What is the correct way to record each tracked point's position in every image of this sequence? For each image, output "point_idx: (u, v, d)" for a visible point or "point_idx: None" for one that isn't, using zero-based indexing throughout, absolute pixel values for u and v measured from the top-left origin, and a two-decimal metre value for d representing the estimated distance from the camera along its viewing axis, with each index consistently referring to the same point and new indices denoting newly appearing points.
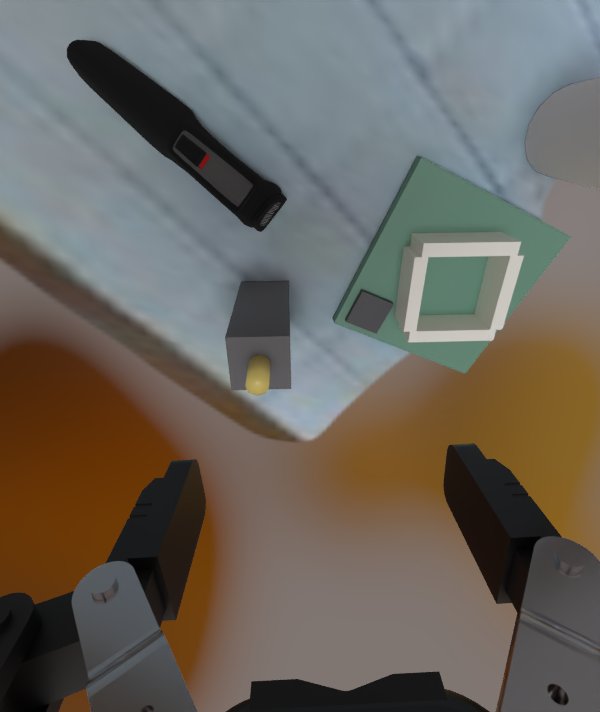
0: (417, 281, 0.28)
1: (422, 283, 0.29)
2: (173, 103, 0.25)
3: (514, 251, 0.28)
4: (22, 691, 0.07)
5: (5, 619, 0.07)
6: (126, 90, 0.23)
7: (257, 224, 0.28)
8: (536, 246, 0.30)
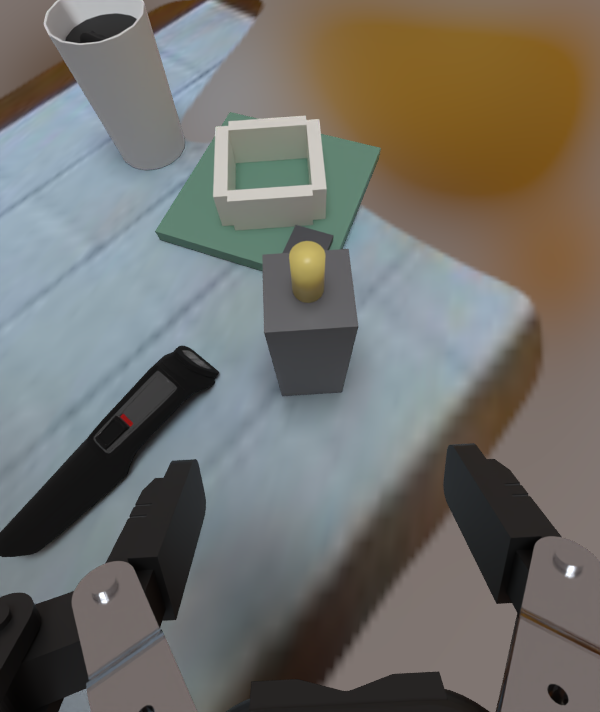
0: (252, 194, 0.27)
1: (255, 189, 0.27)
2: (74, 452, 0.23)
3: (224, 128, 0.29)
4: (22, 691, 0.07)
5: (5, 619, 0.07)
6: (43, 493, 0.21)
7: (199, 367, 0.24)
8: None
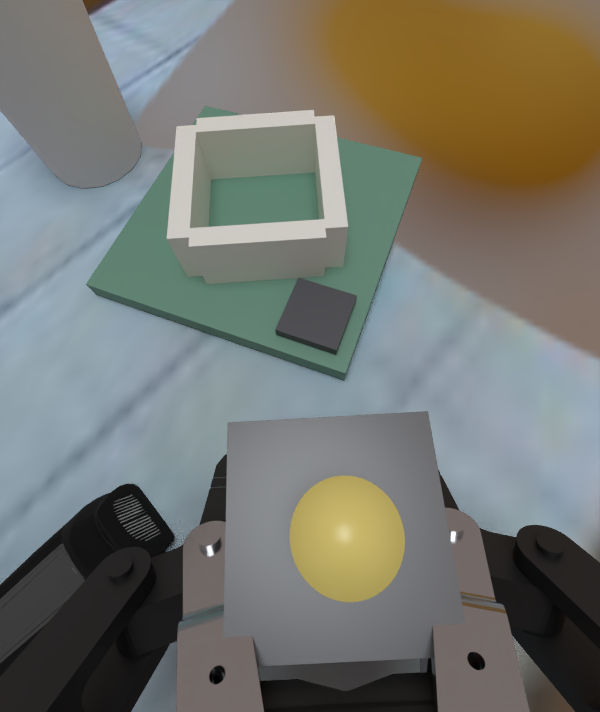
0: (230, 235, 0.17)
1: (233, 227, 0.17)
2: None
3: (190, 129, 0.19)
4: (131, 638, 0.08)
5: (127, 571, 0.08)
6: None
7: (133, 546, 0.14)
8: None
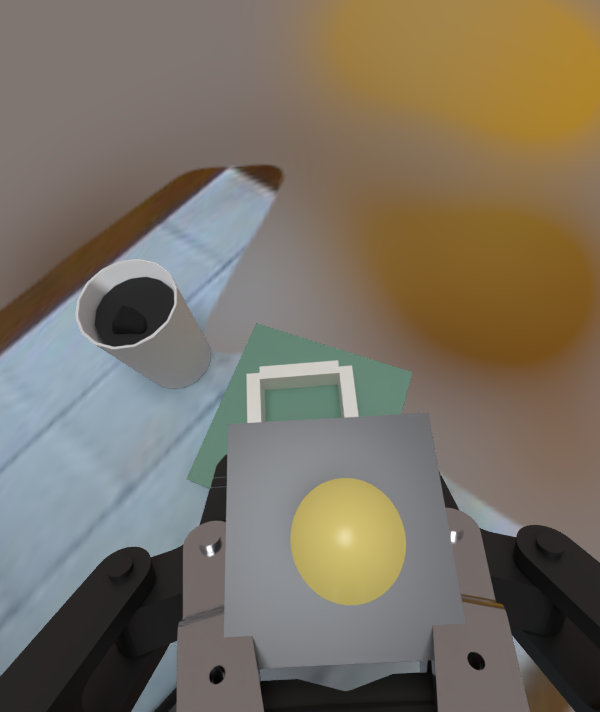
0: None
1: None
2: None
3: (255, 376, 0.29)
4: (131, 638, 0.08)
5: (127, 571, 0.08)
6: None
7: None
8: (265, 349, 0.33)
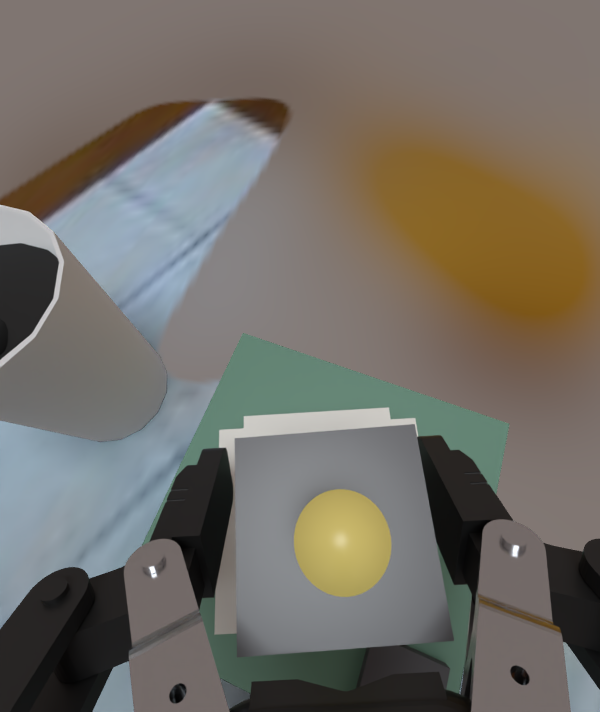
0: None
1: None
2: None
3: (236, 435, 0.16)
4: (73, 661, 0.08)
5: (63, 592, 0.08)
6: None
7: None
8: (257, 377, 0.20)
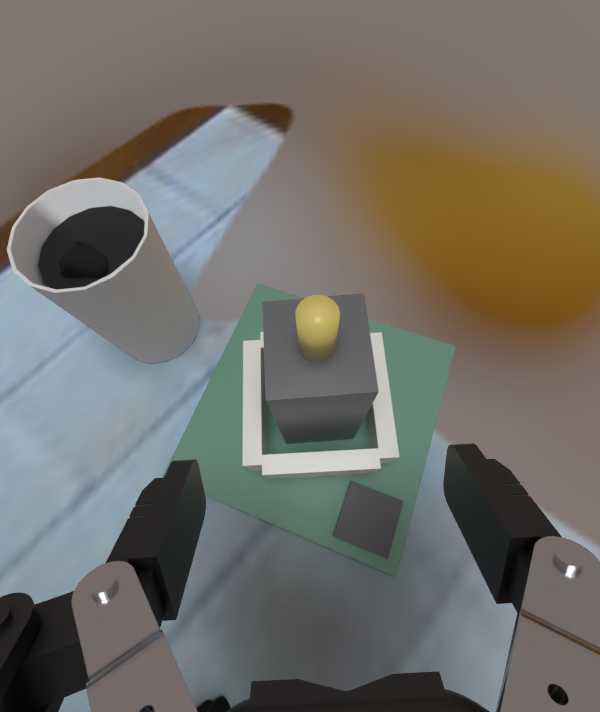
0: (297, 463, 0.19)
1: (300, 455, 0.20)
2: None
3: (255, 344, 0.22)
4: (22, 691, 0.07)
5: (5, 619, 0.07)
6: None
7: None
8: None
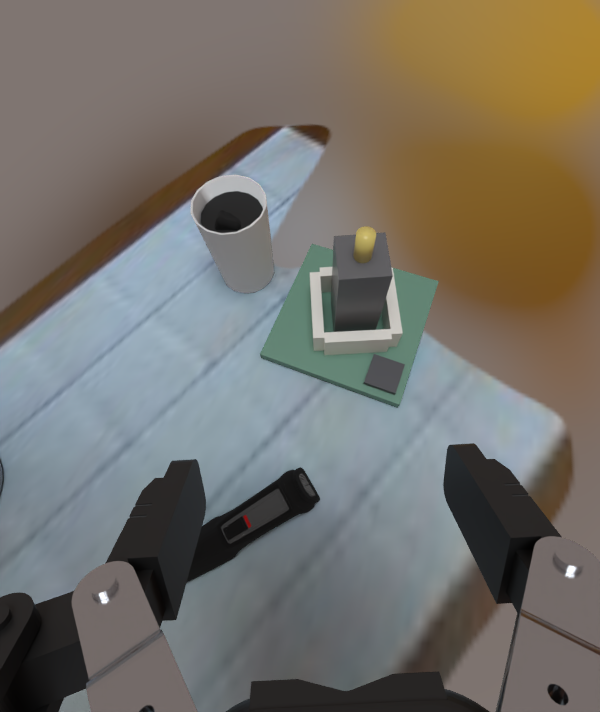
0: (344, 336, 0.34)
1: (346, 332, 0.34)
2: (203, 528, 0.31)
3: (317, 274, 0.37)
4: (22, 691, 0.07)
5: (5, 619, 0.07)
6: None
7: (309, 497, 0.31)
8: (320, 262, 0.41)
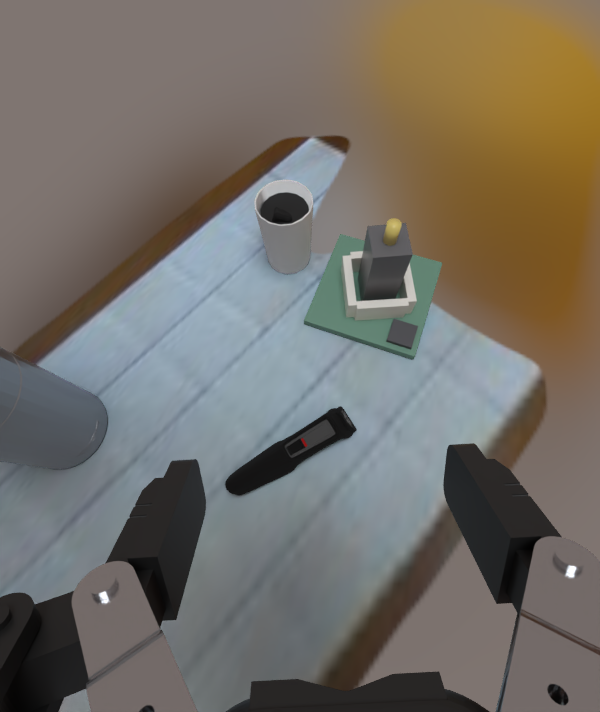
0: (372, 304, 0.45)
1: (373, 301, 0.45)
2: (270, 448, 0.42)
3: (348, 257, 0.47)
4: (22, 691, 0.07)
5: (5, 619, 0.07)
6: (255, 467, 0.40)
7: (350, 426, 0.42)
8: (347, 249, 0.51)
